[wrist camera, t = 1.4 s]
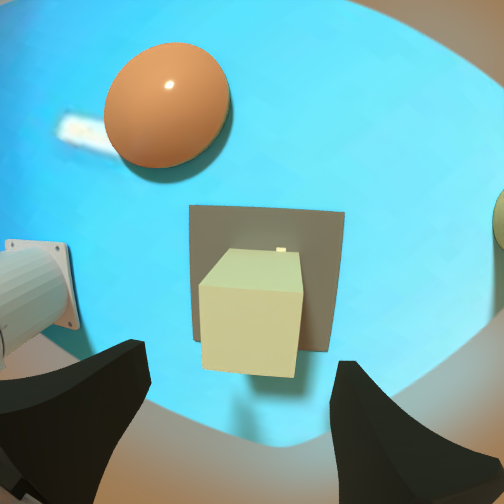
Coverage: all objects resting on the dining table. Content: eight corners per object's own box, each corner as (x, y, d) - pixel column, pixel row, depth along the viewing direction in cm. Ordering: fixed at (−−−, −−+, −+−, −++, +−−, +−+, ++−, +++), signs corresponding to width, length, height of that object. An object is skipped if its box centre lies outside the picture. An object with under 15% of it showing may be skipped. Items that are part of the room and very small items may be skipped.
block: (229, 311, 21) (202, 368, 14) (229, 248, 20) (198, 284, 13) (293, 316, 20) (293, 377, 14) (298, 252, 19) (303, 292, 12)
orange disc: (108, 171, 20) (101, 171, 19) (117, 59, 17) (111, 55, 16) (227, 167, 19) (224, 166, 18) (233, 41, 16) (230, 35, 16)
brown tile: (194, 338, 22) (193, 340, 22) (190, 204, 20) (188, 205, 19) (327, 349, 21) (327, 351, 21) (344, 212, 18) (344, 212, 18)
